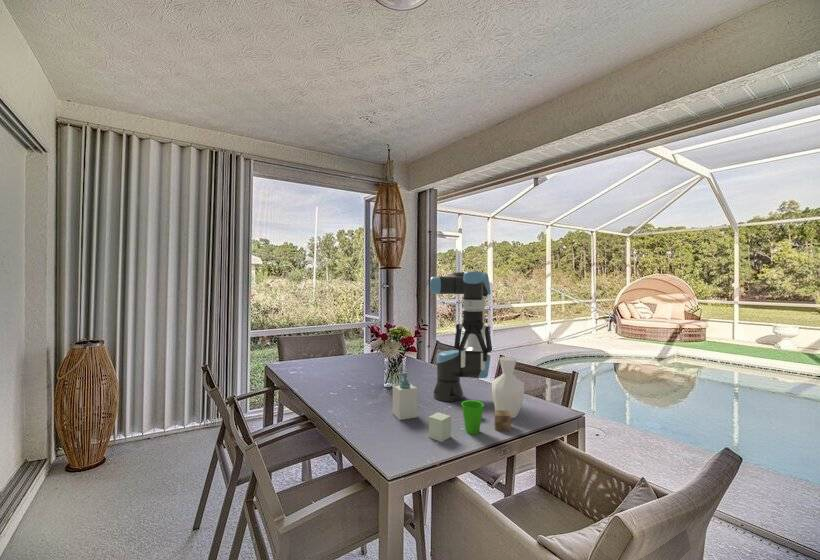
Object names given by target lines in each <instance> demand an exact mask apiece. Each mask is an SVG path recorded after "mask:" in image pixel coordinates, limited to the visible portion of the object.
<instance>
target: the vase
mask: <svg viewBox="0 0 820 560" xmlns="http://www.w3.org/2000/svg"><path fill="white" fill-rule="evenodd" d="M517 359H518V358H516V357H512V356H501V357H499V362H500V367H501V370H502V374H500V375H499V376H497V377H496V378H494V379H493V380H492V381H491V396H492V401H493V405H494V411H495V410H501V411H510V415H511V419H514V418H517V417H518V415H519V412H520V410H521V407H522V405H523V401H524V397H525V383H524V382H523V381H522V380H520V379H519V378H518V377H517V376H515V375H514V370H515V366H516V364H517Z"/></svg>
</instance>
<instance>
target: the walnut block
mask: <svg viewBox="0 0 820 560" xmlns="http://www.w3.org/2000/svg"><path fill="white" fill-rule="evenodd" d="M511 423H512V418H511V415H510V411H501V410H495V409H494V431H501V432H502V431H503V432H511V430H512V429H511V427H512V426H511V425H512V424H511Z"/></svg>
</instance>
